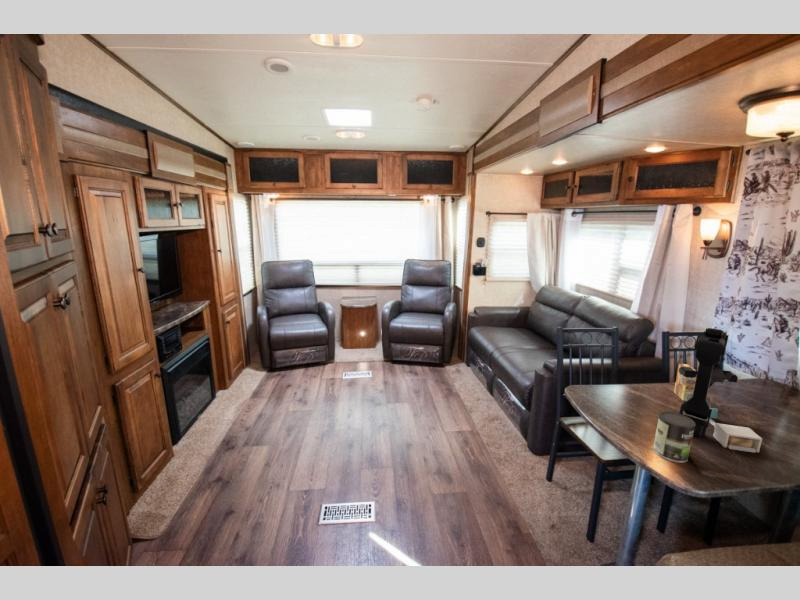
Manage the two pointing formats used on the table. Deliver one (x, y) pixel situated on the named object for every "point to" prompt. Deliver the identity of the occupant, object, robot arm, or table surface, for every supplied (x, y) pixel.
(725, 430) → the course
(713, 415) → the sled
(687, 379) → the candy box
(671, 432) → the coffee can
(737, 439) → the block
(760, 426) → the table surface
